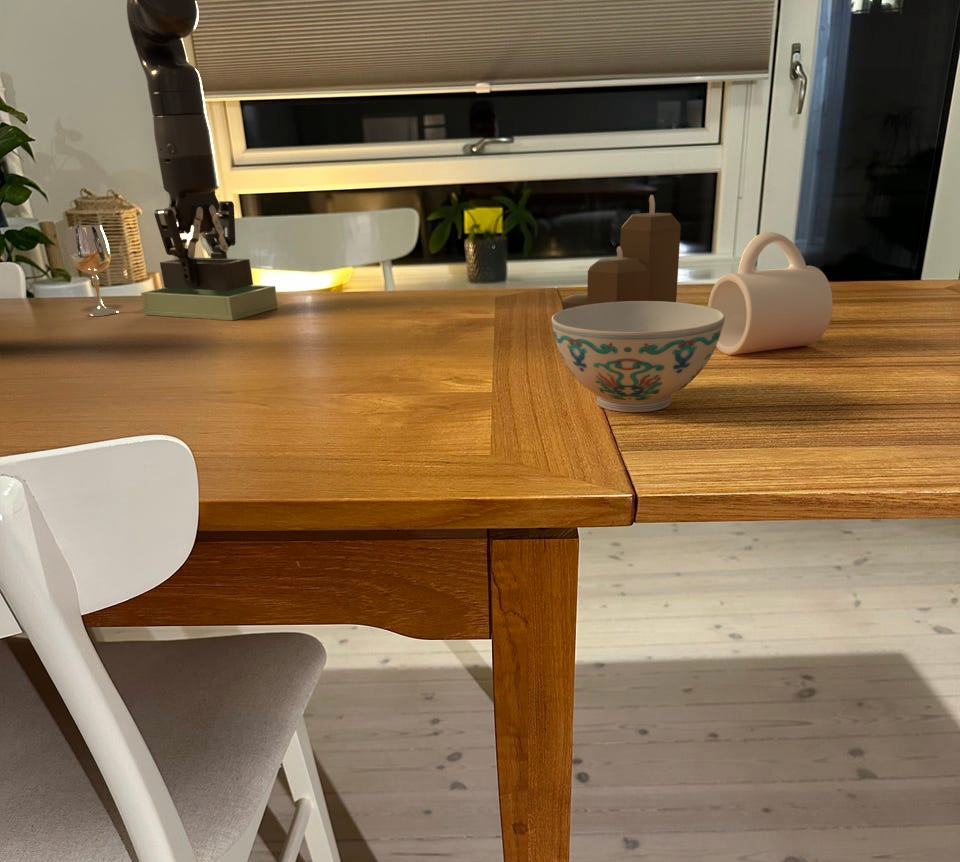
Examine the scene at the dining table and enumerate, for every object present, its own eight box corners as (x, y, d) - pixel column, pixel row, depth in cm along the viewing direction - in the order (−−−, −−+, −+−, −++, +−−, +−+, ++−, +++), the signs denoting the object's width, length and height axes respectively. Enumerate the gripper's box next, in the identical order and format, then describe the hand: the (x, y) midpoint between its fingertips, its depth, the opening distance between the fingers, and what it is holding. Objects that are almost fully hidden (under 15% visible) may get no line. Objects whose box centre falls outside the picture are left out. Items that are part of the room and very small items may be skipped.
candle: (647, 317, 124) (653, 190, 117) (703, 335, 113) (713, 196, 106) (551, 327, 120) (551, 197, 113) (599, 347, 109) (602, 203, 102)
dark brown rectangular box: (164, 287, 139) (159, 262, 138) (190, 281, 144) (186, 257, 142) (228, 290, 134) (223, 264, 133) (253, 284, 139) (249, 259, 137)
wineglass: (130, 311, 143) (113, 224, 137) (98, 318, 139) (78, 228, 133) (106, 308, 146) (88, 224, 140) (74, 315, 142) (54, 228, 136)
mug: (827, 351, 103) (844, 231, 97) (746, 361, 100) (757, 238, 94) (781, 338, 110) (794, 225, 104) (703, 347, 107) (712, 232, 101)
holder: (145, 314, 140) (140, 292, 139) (193, 303, 148) (189, 282, 146) (232, 320, 133) (229, 297, 132) (278, 308, 141) (275, 286, 139)
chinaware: (601, 376, 97) (602, 296, 93) (743, 393, 89) (751, 307, 85) (520, 412, 86) (519, 323, 82) (674, 435, 78) (679, 338, 75)
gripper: (201, 151, 138) (220, 275, 146) (127, 156, 127) (152, 289, 135) (241, 149, 135) (259, 276, 143) (169, 154, 123) (193, 291, 132)
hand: (207, 282), depth 139 cm, fingers closed on dark brown rectangular box, 5 cm apart
